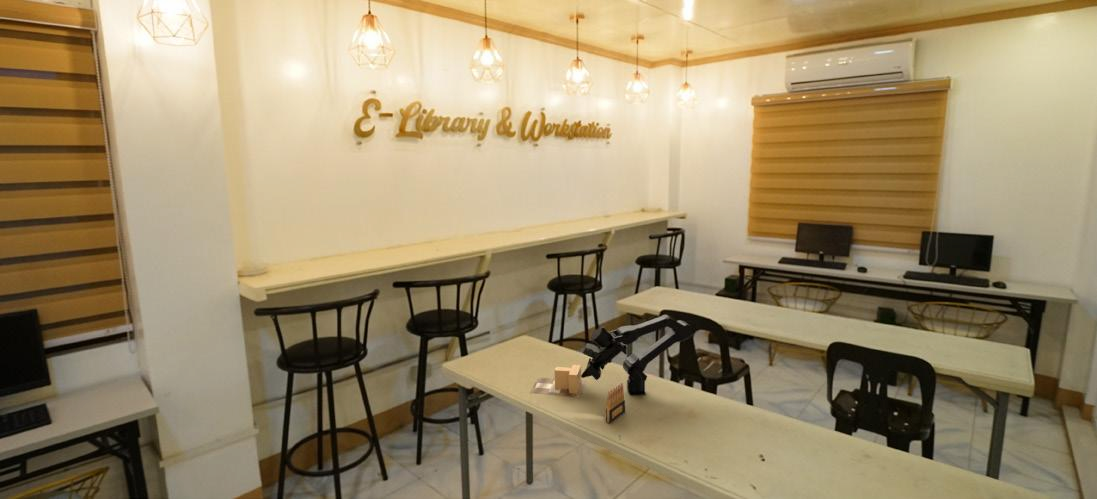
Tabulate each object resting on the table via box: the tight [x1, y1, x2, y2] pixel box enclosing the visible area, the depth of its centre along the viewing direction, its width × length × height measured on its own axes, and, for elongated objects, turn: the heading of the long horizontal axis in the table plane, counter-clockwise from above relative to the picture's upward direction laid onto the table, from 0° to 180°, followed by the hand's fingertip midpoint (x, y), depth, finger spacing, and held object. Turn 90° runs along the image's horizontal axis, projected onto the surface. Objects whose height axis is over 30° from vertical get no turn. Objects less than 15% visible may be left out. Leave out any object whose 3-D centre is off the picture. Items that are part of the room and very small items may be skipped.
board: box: [529, 377, 587, 398], centre depth 217 cm, size 21×15×2 cm
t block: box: [554, 364, 582, 394], centre depth 215 cm, size 10×10×8 cm
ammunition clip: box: [605, 382, 626, 424], centre depth 192 cm, size 11×2×12 cm, turn 140°
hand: (581, 376), depth 213 cm, fingers closed
